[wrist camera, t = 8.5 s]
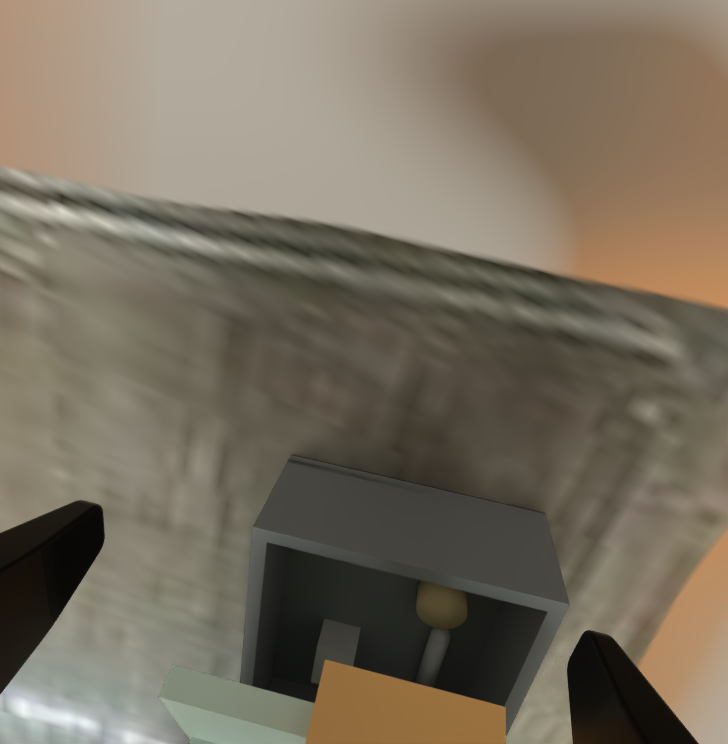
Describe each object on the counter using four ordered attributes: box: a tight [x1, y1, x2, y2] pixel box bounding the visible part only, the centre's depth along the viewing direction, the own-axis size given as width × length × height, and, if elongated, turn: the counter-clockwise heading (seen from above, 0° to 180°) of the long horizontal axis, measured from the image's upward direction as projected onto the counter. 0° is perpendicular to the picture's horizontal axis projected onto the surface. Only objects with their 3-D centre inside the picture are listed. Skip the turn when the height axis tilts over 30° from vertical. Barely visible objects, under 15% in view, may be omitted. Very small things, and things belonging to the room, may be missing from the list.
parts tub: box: [240, 455, 570, 736], centre depth 24 cm, size 18×12×6 cm
